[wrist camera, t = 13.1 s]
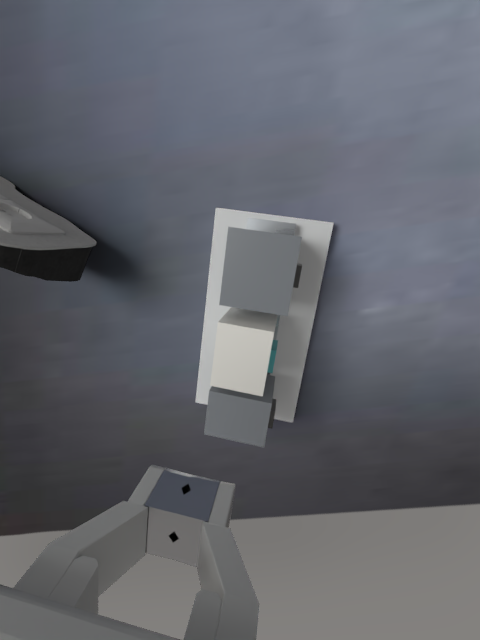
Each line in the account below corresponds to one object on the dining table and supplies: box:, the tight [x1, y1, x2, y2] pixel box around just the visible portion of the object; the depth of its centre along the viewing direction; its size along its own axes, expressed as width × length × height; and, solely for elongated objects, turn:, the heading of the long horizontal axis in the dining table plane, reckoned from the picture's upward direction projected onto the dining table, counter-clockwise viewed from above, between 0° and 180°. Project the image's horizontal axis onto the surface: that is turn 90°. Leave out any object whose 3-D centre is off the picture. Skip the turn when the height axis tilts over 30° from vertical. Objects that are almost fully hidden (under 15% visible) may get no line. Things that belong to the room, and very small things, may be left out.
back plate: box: [196, 208, 334, 423], centre depth 29 cm, size 19×10×1 cm, turn 172°
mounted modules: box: [204, 227, 302, 447], centre depth 25 cm, size 16×5×5 cm, turn 172°
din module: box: [210, 307, 278, 396], centre depth 25 cm, size 5×4×6 cm
